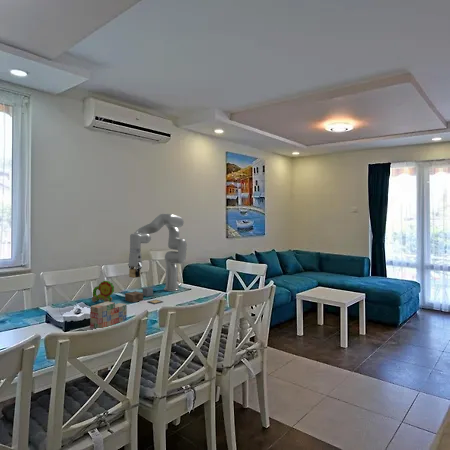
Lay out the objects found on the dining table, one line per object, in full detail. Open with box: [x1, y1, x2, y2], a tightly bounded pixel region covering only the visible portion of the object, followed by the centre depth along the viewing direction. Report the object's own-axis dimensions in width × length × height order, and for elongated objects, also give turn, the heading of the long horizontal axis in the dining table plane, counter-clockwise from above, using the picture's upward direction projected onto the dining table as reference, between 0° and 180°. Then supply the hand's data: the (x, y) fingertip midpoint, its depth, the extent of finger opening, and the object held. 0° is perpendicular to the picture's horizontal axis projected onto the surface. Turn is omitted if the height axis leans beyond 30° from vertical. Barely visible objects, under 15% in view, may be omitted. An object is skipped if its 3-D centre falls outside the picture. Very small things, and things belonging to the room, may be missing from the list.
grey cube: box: [141, 286, 154, 297], centre depth 274 cm, size 6×6×6 cm
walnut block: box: [124, 290, 144, 303], centre depth 259 cm, size 9×9×5 cm
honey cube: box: [128, 267, 141, 279], centre depth 258 cm, size 6×6×6 cm
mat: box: [147, 299, 164, 305], centre depth 255 cm, size 8×8×1 cm
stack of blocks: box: [89, 301, 128, 330], centre depth 205 cm, size 21×6×12 cm, turn 151°
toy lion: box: [91, 280, 115, 303], centre depth 252 cm, size 16×5×15 cm, turn 74°
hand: (134, 275), depth 258 cm, fingers closed on honey cube, 5 cm apart
